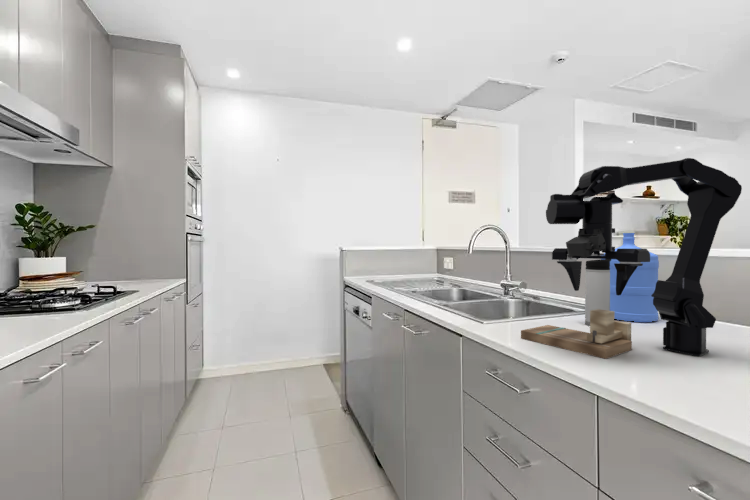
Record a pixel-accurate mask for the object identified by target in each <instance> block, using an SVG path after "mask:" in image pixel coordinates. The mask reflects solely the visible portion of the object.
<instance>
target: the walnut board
mask: <svg viewBox="0 0 750 500" xmlns="http://www.w3.org/2000/svg"><path fill="white" fill-rule="evenodd" d="M588 333H589V332H586V331H581V330H577V329H576V330H575V329H571V328H566V327H560V326H556V325H550V324H546V325H541V326H536V327H532V328H527V329H522V330H520V339H522V340H527V341H530V342H531V341H532V342H535V343H539V344H544V345H546V346H547V345H548V346H551V347H555V348H560V349H563V350H568V351H572V352H576V353H580V354H584V355H589V356H593V357H597V358H600V359H601V358H602V359H604V360H605V359H606V360H607V359H609V358H612V357H616V356H618V355H621V354H624V353H627V352H630V351H632V350H633V349H632V346H633V344H632V343H633V341H632V340H631V341H628V340H623V339H615V340H612V341H608V342H605V343H602V344H601V343H596V342H591V341H587V334H588Z"/></svg>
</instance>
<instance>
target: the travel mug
mask: <svg viewBox="0 0 750 500" xmlns="http://www.w3.org/2000/svg"><path fill="white" fill-rule="evenodd" d="M610 261H611V259H590V260H586V261H585V268H584V270H585V275H584V277H585V283H584V285H585V286H584V287H585V289H584V290H585V293H584V298H585V299H584V307H585V308H584V312H585V313H584V315H585V316H584V319H585V320H584V324H585V325H587V326H588V327H590V311H591V310H596V309H601V310H608V311H610Z"/></svg>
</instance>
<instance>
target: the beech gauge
mask: <svg viewBox="0 0 750 500" xmlns="http://www.w3.org/2000/svg"><path fill="white" fill-rule="evenodd" d="M614 319H615V311H608V310H601V309H596V310H591V311H590V326H589V332H587V333H588V334H587V341H591V342H596V343H601V344H602V343H605V342H608V341H612V340H615V339H623V340H628V341H632V322H627V321H619V320H614Z"/></svg>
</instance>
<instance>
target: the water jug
mask: <svg viewBox="0 0 750 500" xmlns="http://www.w3.org/2000/svg"><path fill="white" fill-rule="evenodd" d="M635 233H636V232H623V233H622V236H623V237H622V245H621V246H618V247H615V251H617V249H643V248H642V247H638V246H637V245H635ZM649 253H650V262H641V263H643V266H638V267H637V268H636V270H635V271H634V273H633V274H632V275H631V277H630V279H629V280H628V282H627V284H626V286H625V288H624V290H623V292H622V294H621V295H616V275H617V270H616V268H615V265H614V264H615V263H620V262H619V261H618V260H617V259H611V261H610V311H615V319H617V320H616V321H619V320H624V321H623V322H627V321H634V322H633V323H653V322H652V321H655V322H656V321H658V320H659V312H658V310H656V308H655V306H654V305H653V298H654V297H652V296H651V295H652V294H653V293H654V291H655V287H656V283H657V281H658V280H659V267H660V263H659V262H660V261H659V255H658V254H655V253H653V252H650V251H649ZM603 254H605V253H603ZM600 256H602V255H600Z"/></svg>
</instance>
